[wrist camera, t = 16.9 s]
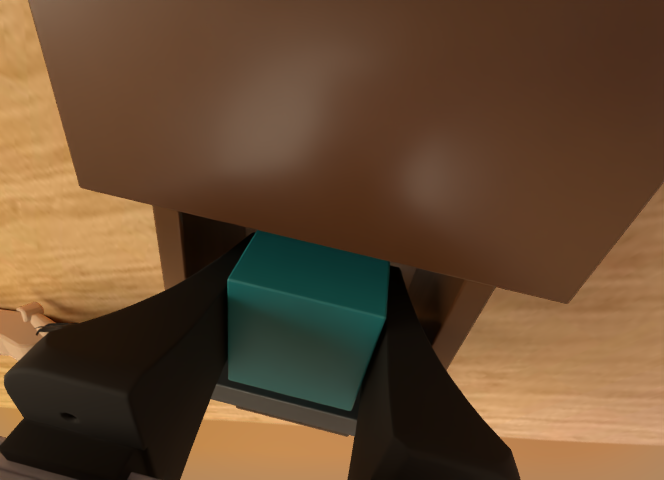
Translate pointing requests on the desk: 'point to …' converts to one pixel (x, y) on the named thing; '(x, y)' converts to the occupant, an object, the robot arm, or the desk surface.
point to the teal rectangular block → (304, 318)
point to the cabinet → (376, 122)
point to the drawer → (438, 324)
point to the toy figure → (24, 329)
